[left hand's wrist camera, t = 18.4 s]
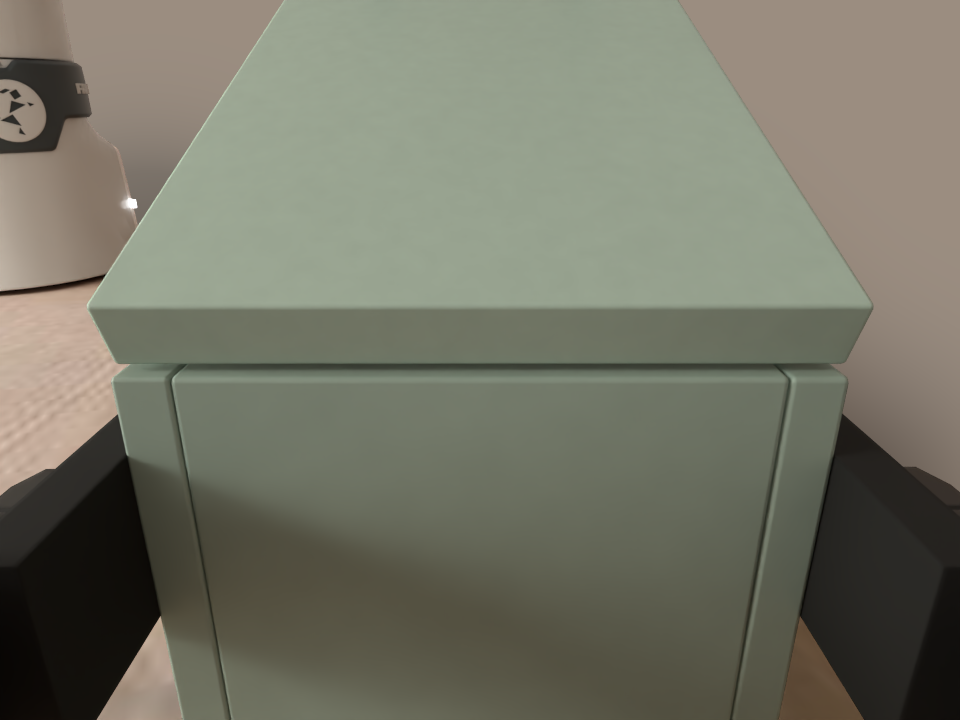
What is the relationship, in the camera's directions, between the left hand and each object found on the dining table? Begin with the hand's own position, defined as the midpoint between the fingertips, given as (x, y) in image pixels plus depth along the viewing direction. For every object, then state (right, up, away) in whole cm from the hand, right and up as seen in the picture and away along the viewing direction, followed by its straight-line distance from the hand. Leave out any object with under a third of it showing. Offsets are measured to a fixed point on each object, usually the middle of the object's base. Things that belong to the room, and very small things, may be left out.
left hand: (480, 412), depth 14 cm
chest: (0, -4, +5) cm, 7 cm away
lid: (0, +7, +1) cm, 7 cm away
